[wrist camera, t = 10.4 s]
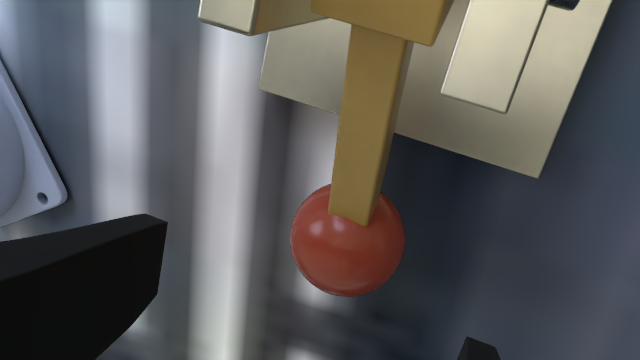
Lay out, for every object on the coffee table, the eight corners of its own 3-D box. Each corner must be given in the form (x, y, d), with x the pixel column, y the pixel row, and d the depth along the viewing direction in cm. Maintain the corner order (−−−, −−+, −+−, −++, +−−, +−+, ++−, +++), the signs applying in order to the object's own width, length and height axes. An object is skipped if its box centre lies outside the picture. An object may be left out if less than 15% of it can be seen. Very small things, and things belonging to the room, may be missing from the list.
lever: (407, 247, 18) (375, 334, 16) (313, 212, 19) (271, 293, 17) (545, -187, 9) (511, -109, 7) (354, -224, 10) (273, -164, 8)
